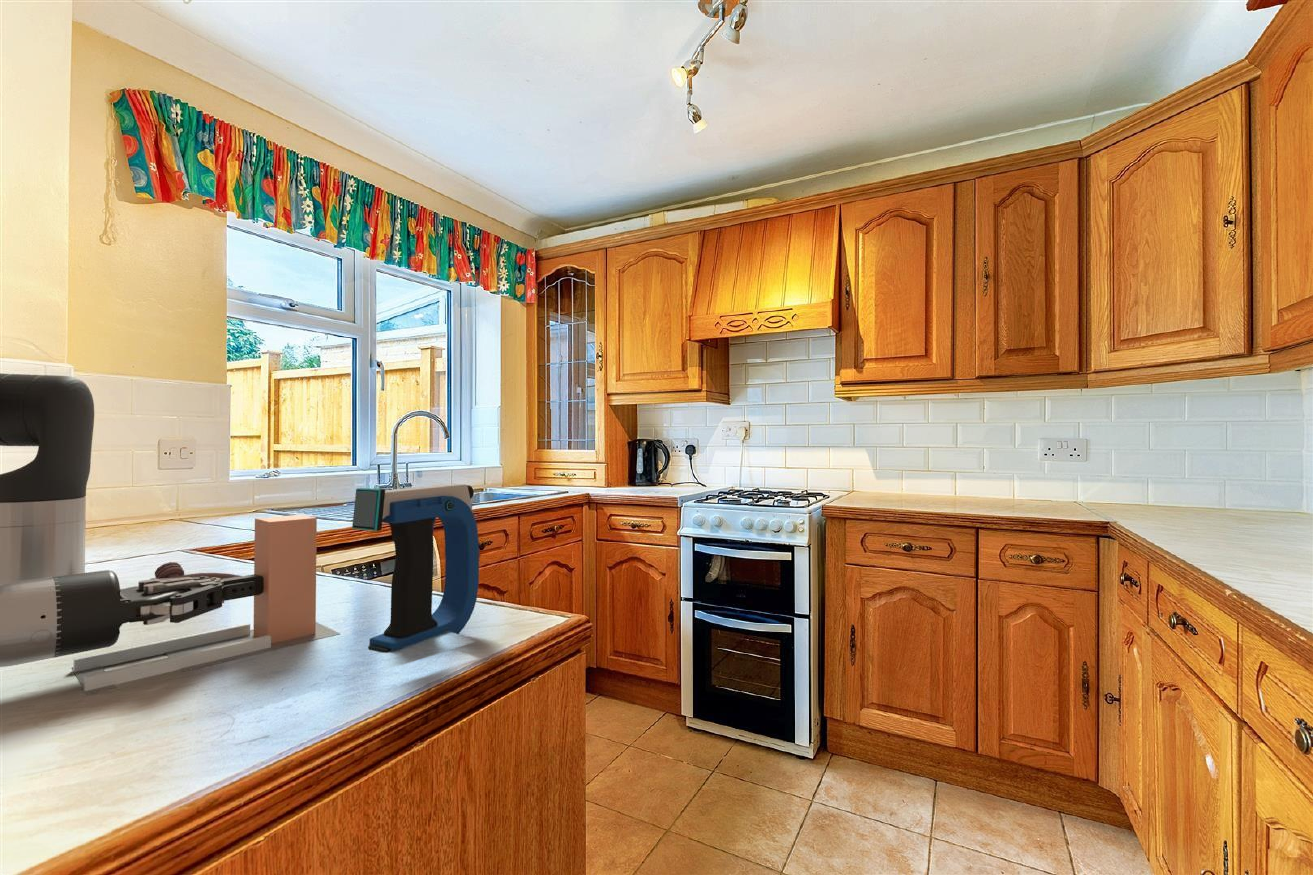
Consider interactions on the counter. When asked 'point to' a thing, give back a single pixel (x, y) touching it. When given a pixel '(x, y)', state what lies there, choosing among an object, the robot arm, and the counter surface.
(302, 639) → the channel
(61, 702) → the counter surface
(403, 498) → the handheld scanner
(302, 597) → the terracotta block
